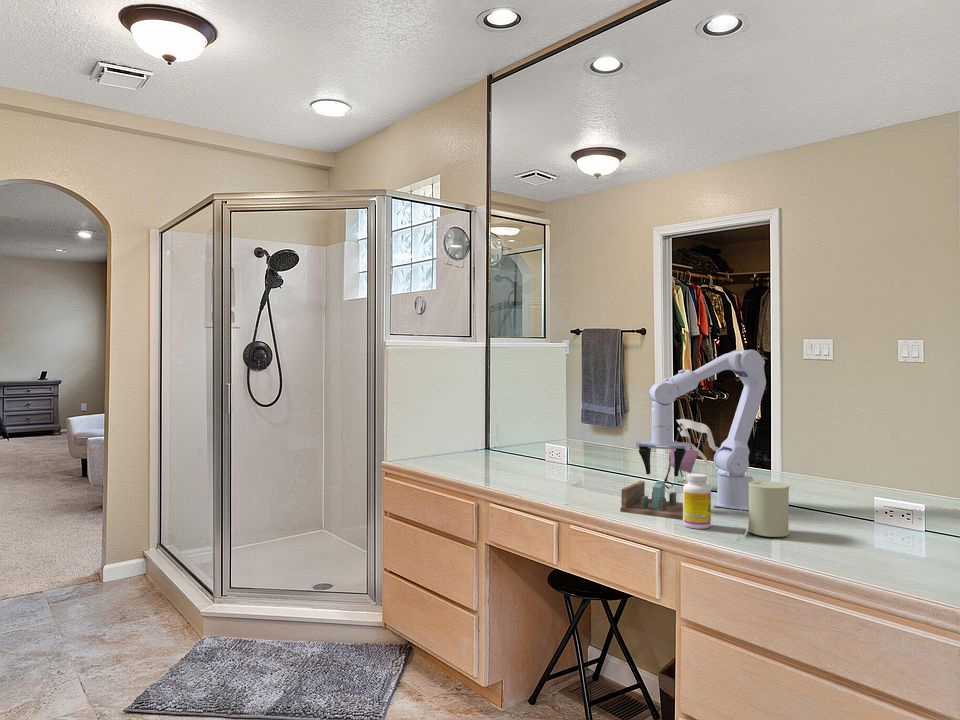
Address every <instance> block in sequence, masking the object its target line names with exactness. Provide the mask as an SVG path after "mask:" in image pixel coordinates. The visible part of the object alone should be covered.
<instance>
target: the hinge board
mask: <svg viewBox="0 0 960 720" xmlns="http://www.w3.org/2000/svg"><path fill="white" fill-rule="evenodd" d="M645 483H646V482H645V481H643V480H639V481H637V482H635V483H633V484H630V485H628V486H626V487H623V488H622V489H621V501H620V503H621V507H620V509H619V510H620V512H622V513H630V514H631V513H632V514H636V515H637V514H638V515H645V516H651V517H661V518H667V519H677V520H682V521H683V502H679V501H677V492H670V493H669V497H668V498H669V499H668V500H667V498H666V497H665V498H661V499H659V510H656V509H653V491H652V492H651V498H649V496H648V495H645V490H646V488H645V485H646V484H645Z"/></svg>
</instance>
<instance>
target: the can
mask: <svg viewBox="0 0 960 720" xmlns="http://www.w3.org/2000/svg"><path fill="white" fill-rule="evenodd" d="M748 485H749V510H748V524H747V525H748V528H747V531H748V532H749V533H751V534H754V535H756V536H762V537H771V538H780V537H781V538H783V537H787V536H789V535H790V529H789V528H790V527H789V507H790V506H789V502H790V501H789V498H790V497H789V496H790V495H789V493H790V485H789V484H787V483H783V482H779V481H767V480H755V481H754V480H753V482H749V483H748Z"/></svg>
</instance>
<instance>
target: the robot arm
mask: <svg viewBox="0 0 960 720" xmlns="http://www.w3.org/2000/svg"><path fill="white" fill-rule="evenodd" d="M765 363H766V361H765V359H764V358H763V357H762V355H761V354H760V353H759V352H758V351H757V350H755V349H747V350H746V349H741V350H740V349H734V350H732V351H730V352H728V353H724V354H721V355H720V356H718V357H716V358H714V359H712V360H711V361H709V362H708V363H706V364H704V365H702V366H700V367H698V368H696V369H695V370H690V369H685V370H684V369H680V370H678V372H677V373H676V374H675V375H673V376H671V377H669V378H668V377H665V378H664V379H663V382H656V383H654V384H653V385H651V388H650V389H649V392H648V393H647V395H648V397H649V399H650V401H651V440H645V439H643V440H641V439H639V440H638V439H637V440H635V445H634V446H635V448H637V449H638V453H639V456H640V457H641V459H642V462H643V464H644V468H645V474H646V475H651V451H652V449H659V450H660V449H661V450H671V449H674V450H676V451H674V459H675V468H673V469H674V470H673V471H674V472H673V473H674V474H673V475H674V477H679V472H680V470H679V468H680V465H681V462H682V459H683V457H684V455H685V453H686V451H689V450H690V448H691V447H690V446H691V442H680V441H677V442H674V434H673V433H674V426H673V425H674V424H673V423H674V419H673V416H674V409H673V406H674V405H673V403H674V402H675V401H676V398H679V397H681V396H683V395H685V394H688V393H689V392H691V391H693V390H695V389H697V388H698V385H699V383H700V382H701V381H703V380H706V379H707V378H709V377H712V376H715V375H717V374H719V373H721V372H723V371H731V372H733V373H734V374H735V376H738V378H739V380H740V381H741V382H742V384H743V389H742V391H741V395H740V398H739V402H738V404H737V407H736V410H735V414H734V417H733V420H732V424H731V426H730V429H729V432H728V436H727V438H726V439H725V440H723V441H722V443H721V444H720V447H719V448H720V449H719V450H718V451H717V452H716V451H715V454H714V455H713V463H714V465H715V468H716V469H717V472H716V473H717V474H716V475H717V478H716V479H717V483H716V484H717V485H716V486H717V487H716V488H717V491H716V493H717V496H716V497H717V498H716V499H717V501H715V503H714V504H712V506H713V507H716V508H724V509H731V510H732V509H733V510H741V511H749V485H748V483H749V482H753V481H754V478H753V476H748V475H745V474H746V472H747V471H748V470H749V467H750V462H749V457H750V448H749V446H748V445H749V444H748V443H749V439H750V436H751V433H752V429H753V427H754V423H755V420H756V416H757V414H758V411H759V407H760V404H761V401H762V400H763V395H764V393H765V390H766V386H767V379H766V374H765Z"/></svg>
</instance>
